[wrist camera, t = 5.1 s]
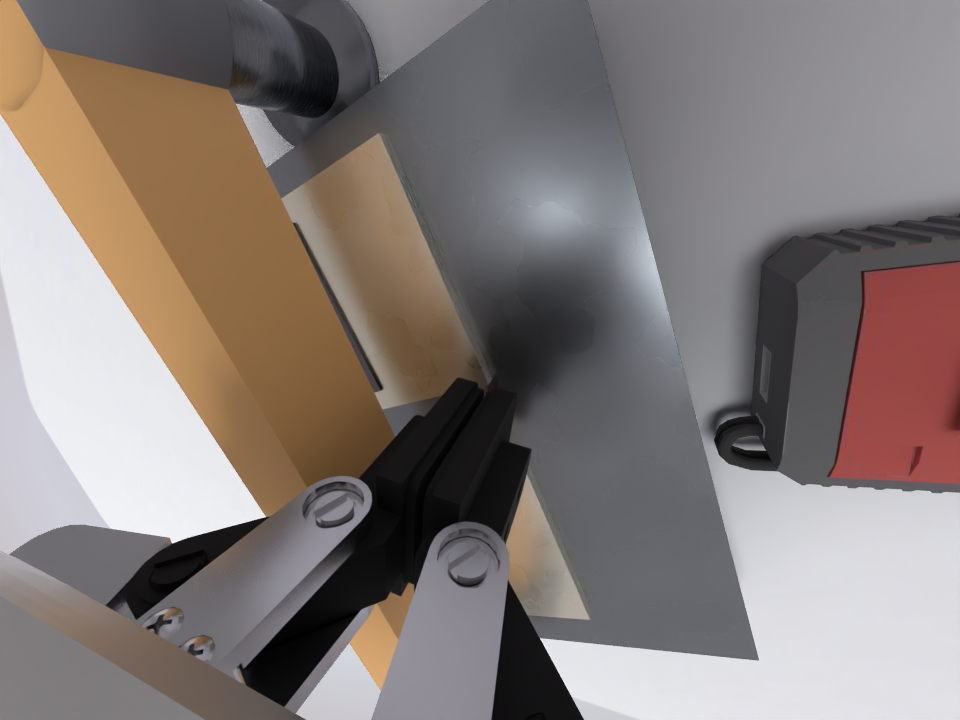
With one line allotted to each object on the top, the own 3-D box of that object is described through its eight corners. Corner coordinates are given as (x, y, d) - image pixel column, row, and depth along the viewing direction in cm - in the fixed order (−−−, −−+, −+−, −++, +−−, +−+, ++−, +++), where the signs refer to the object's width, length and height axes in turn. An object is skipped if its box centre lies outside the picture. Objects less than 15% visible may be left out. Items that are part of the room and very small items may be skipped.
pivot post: (333, -52, 11) (169, -183, 7) (401, 114, 12) (295, 81, 8) (242, 43, 13) (74, -18, 9) (308, 176, 14) (188, 174, 10)
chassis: (585, 5, 9) (567, -77, 6) (735, 578, 15) (763, 677, 12) (225, 242, 16) (136, 256, 13) (418, 571, 22) (386, 632, 19)
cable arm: (72, -26, 8) (-244, -146, 5) (165, -165, 7) (-218, -457, 4) (463, 686, 16) (426, 805, 13) (552, 706, 15) (534, 847, 11)
